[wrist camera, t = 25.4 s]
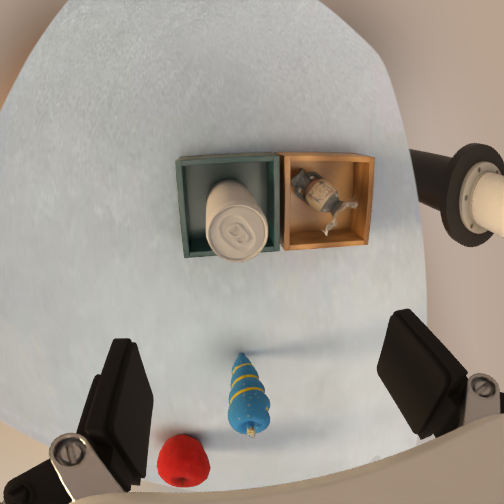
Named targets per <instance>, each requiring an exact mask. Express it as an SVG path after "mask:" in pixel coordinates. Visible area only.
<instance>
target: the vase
mask: <svg viewBox="0 0 504 504" xmlns="http://www.w3.org/2000/svg"><path fill="white" fill-rule="evenodd" d="M307 163H308V162H307ZM313 178H314V180H313ZM315 178H317V179H315ZM291 186H293V187H296V188H295V194H296V196H298V197H299V198H300V199H301V200H303V201H304V202H306V203H307V204H308V205H309V206H310V207H311V208H312V209H314V210H316V211H319V212H324V213H325V212H331V214H332V217H333V220H332V222H331V223H332V224H331V223H329V224H328V225H329V226H328V225H327V226H326V229H325V230H326V231H323V232H324V233H325V235H326V236H327V234H328V231H329V230H330V229H332V227H334V226H337V225H336V223H335V220H336V217H337V215H338V214H339V213H340V212H341V211H342V210H344V209H345V208H346V207H349V206H351V209H353V208H354V209H355V207H357V205H358V202H356V201H355V202H353V201H352V200H351V201H352V202H346V201H340V200H339V195H338V192H337V190H336V188H335V187H334V186H333V185H332V184H331V183H330V182H329V181H327V180H325V179H324V178H322V177H321V176H320V175H319V174H317V173H316V172H313V171H311V172H309V173H306V171H305V170H304V169H303V168H301V169H300V171H299V172H298V173H297V174H296V175H295V176H294V177H292V178H291ZM301 189H302V190H303V191H304V195H303V194H302V193H300V192H301ZM354 197H355V196H354ZM348 200H349V199H348ZM354 200H355V199H354ZM354 203H355V204H354ZM353 204H354V205H353ZM336 222H337V221H336ZM330 224H331V225H330ZM327 229H329V230H327ZM320 230H322V229H320Z"/></svg>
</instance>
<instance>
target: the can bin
mask: <svg viewBox="0 0 504 504" xmlns="http://www.w3.org/2000/svg"><path fill="white" fill-rule="evenodd" d="M175 163H176V177H177V190H178V202H179V213H180V223H181V233H182V243H183V252H184V258H189V257H204V256H218V255H217V254H215V253H214V251H213V250H212V248H211V247H210V245H209V243H208V240H207V238H206V203H207V195H208V192H209V190H210V188H211V187H212V186H213V185H214V184H215V183H217V182H218V181H220V180H224V179H234V180H238V181H240V182H242V183H243V184H244V185H245V186H246V187H247V189H248V190H249V192H250V193H251V195H252V196H253V198H254V200H255V201H256V203H257V204H258V206H259V207H260V209H261V210H262V212H263V214H264V215H265V217H266V220H267V223H268V238H267V242H266V244H265V246H264V248H263V249H262V251H261V252H273V251H280V156H279V155H276V154H274V153H271V152H260V153H233V154H214V155H199V156H186V157H180V158H179V159H177V160H176V161H175Z"/></svg>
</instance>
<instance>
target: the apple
mask: <svg viewBox="0 0 504 504" xmlns="http://www.w3.org/2000/svg"><path fill="white" fill-rule="evenodd" d="M157 468H158V474H159V475H160V477H161V478H162V479H163V480H164V481H165V482H166V483H168V484H170V485H172V486H175V487H193V486H197V485H199V484H201V483H202V482H203V481H205V480H206V479H207V477H208V475H209V471H210V464H209V460H208V457H207V455H206V453H205V451H204V449H203V446H202V444H201V443H200V442H199V441H198V440H196V439H194V438H192V437H190V436H188V435H183V434H182V435H176V436H174V437H172V438H170V439H168V440H167V441H166V442H165V444H164V445H163V447H162V449H161V451H160V453H159V457H158V461H157Z"/></svg>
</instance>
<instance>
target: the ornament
mask: <svg viewBox="0 0 504 504" xmlns="http://www.w3.org/2000/svg"><path fill="white" fill-rule="evenodd" d="M232 375H233V376H232V379H231V392H230V395H229V405H230V406H229V410H228V420H229V423H230V425H231V426H232V428H233V429H234V430H236V431H237V432H239V433H242V434H249V435H253V434H254V435H255V433H259V432H261V431H263V430H265V429H266V428H267V427H268V425H269V423H270V416H269V413H268V410H269V408H270V401H269V399H268V397H267V396H266V395H265V394H264V393H265V389H264V386H263V384H262V383H261V382H260V381H259V376H258V373H257V371H256V370H255V368H254V367H253V366H252V364H251V362H250V361H249V359H248V358H247V357H246V356H245V355H244V354H243V353H240V354H239V355H238V357H237V359H236V361H235V363H234V365H233V368H232ZM249 437H250V436H249ZM251 438H254V437H251Z"/></svg>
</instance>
